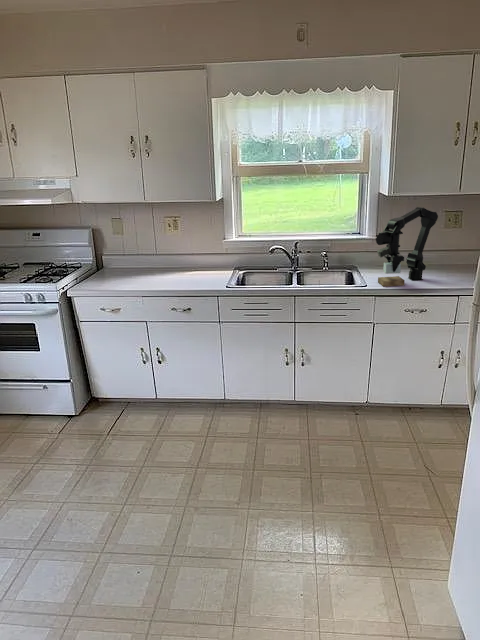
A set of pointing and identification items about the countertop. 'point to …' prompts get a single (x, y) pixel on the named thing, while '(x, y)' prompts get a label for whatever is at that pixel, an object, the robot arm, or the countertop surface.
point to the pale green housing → (389, 270)
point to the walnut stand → (391, 281)
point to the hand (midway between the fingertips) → (391, 270)
